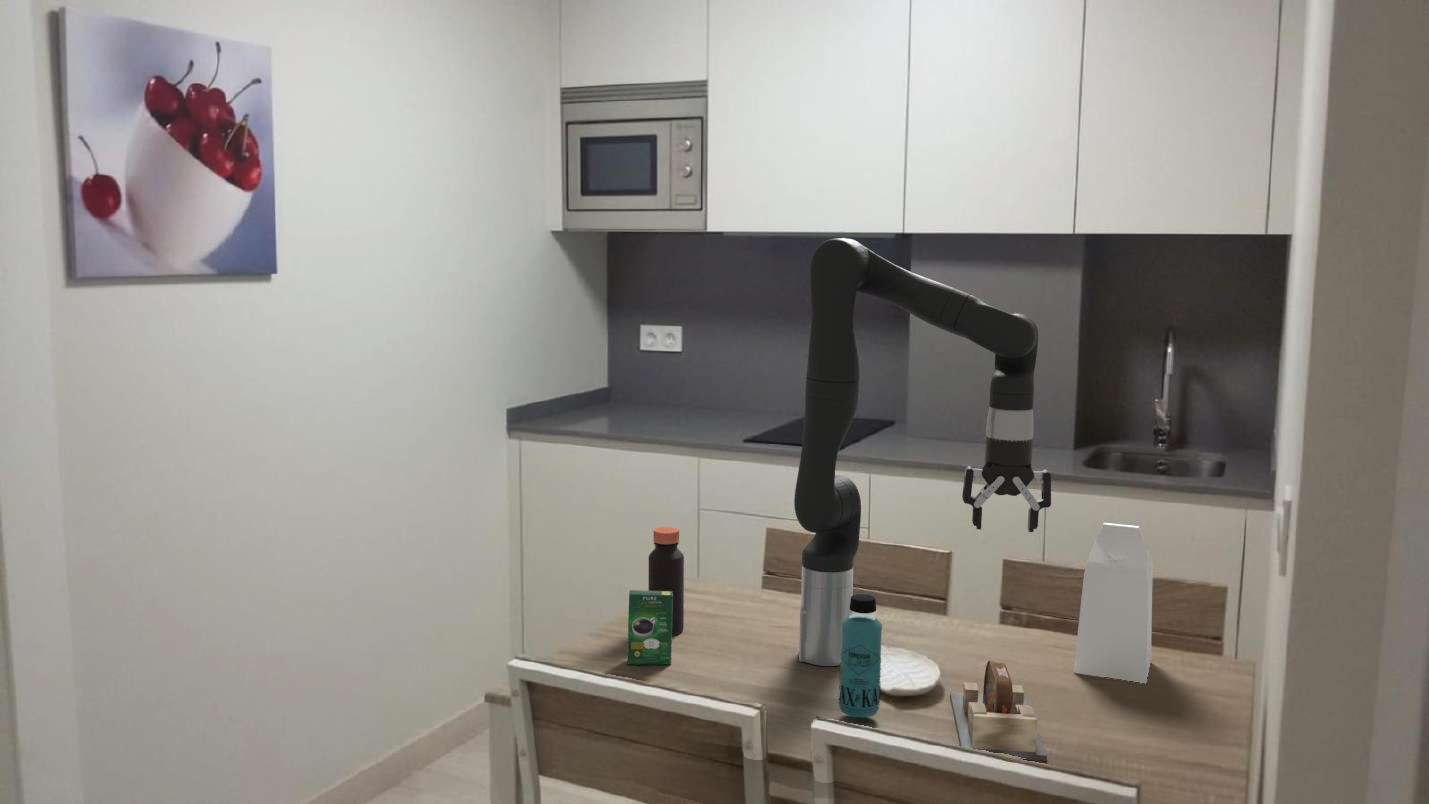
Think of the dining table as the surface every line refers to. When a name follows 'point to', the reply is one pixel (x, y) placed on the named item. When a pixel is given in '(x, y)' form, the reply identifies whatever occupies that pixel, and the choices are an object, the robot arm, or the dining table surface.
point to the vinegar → (668, 571)
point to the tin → (997, 688)
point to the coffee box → (650, 627)
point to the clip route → (997, 725)
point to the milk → (1116, 607)
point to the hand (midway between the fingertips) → (1004, 529)
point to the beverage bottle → (860, 659)
